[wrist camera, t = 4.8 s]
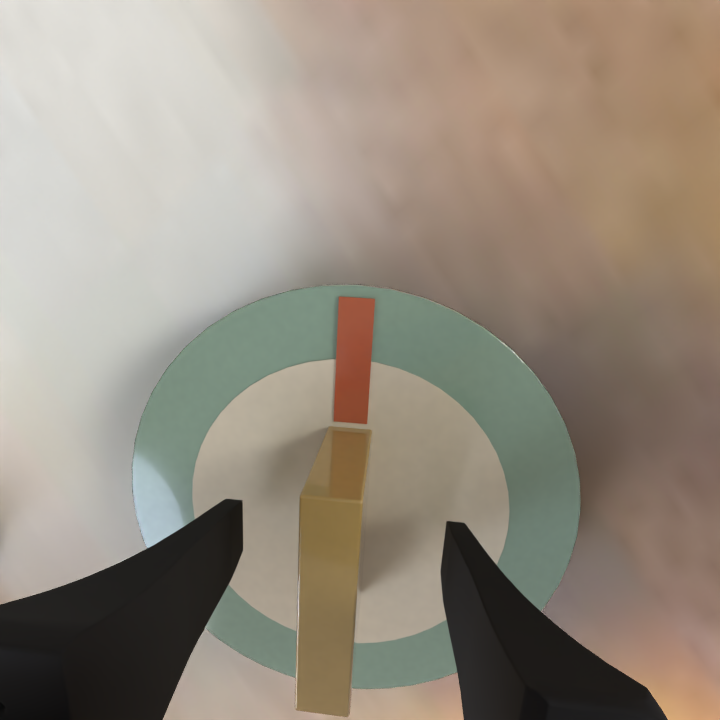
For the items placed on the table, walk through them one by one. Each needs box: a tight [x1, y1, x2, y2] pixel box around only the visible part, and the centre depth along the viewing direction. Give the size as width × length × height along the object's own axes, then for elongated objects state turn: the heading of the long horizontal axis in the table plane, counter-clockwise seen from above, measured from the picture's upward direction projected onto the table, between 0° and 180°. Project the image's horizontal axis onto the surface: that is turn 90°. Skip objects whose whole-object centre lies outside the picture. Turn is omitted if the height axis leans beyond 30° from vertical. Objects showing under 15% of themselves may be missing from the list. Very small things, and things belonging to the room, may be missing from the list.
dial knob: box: [132, 284, 581, 717], centre depth 13 cm, size 17×17×5 cm
